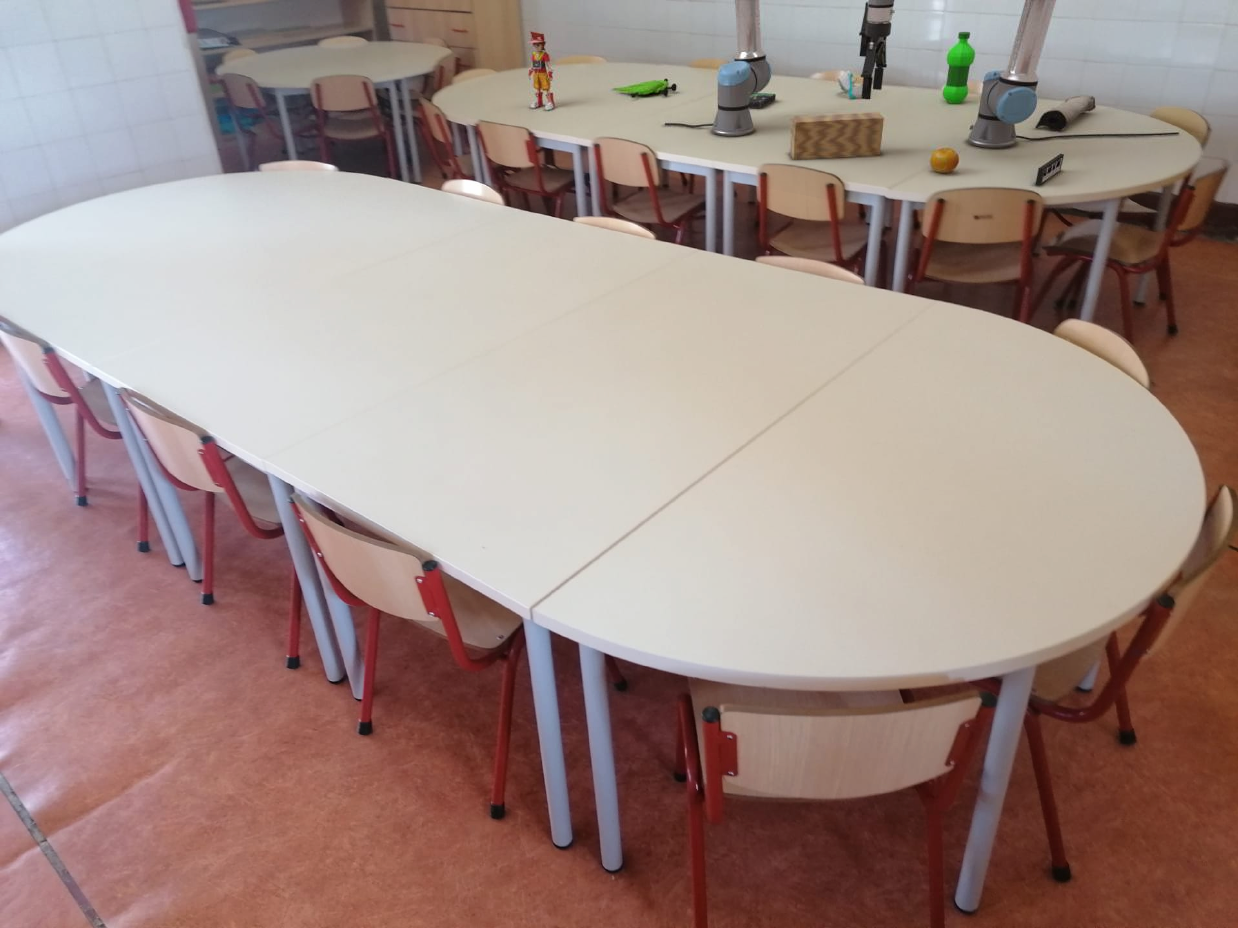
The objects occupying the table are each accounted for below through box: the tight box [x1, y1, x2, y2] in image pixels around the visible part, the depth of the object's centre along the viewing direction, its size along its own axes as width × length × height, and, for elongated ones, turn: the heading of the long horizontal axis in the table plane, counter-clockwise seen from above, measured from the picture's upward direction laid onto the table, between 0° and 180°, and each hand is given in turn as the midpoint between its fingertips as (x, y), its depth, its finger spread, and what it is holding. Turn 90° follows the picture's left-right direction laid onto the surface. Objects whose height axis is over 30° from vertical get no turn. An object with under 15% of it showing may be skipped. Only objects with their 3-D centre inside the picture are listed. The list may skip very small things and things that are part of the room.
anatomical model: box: [837, 70, 863, 99], centre depth 370 cm, size 15×10×10 cm
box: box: [789, 111, 885, 161], centre depth 303 cm, size 29×8×12 cm, turn 89°
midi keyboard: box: [1035, 153, 1065, 186], centre depth 273 cm, size 18×1×5 cm, turn 138°
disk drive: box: [749, 92, 777, 109], centre depth 368 cm, size 10×3×15 cm
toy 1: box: [527, 31, 556, 111], centre depth 374 cm, size 12×9×30 cm
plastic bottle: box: [942, 31, 976, 104], centre depth 348 cm, size 10×10×25 cm
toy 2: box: [612, 78, 677, 99], centre depth 396 cm, size 28×5×30 cm
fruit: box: [929, 147, 960, 174], centre depth 283 cm, size 8×8×8 cm
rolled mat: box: [1035, 94, 1097, 132], centre depth 323 cm, size 30×9×10 cm
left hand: (868, 52), depth 308 cm, fingers open, 13 cm apart
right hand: (871, 94), depth 289 cm, fingers open, 13 cm apart
